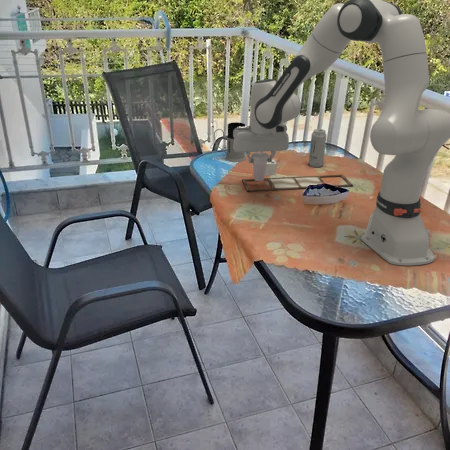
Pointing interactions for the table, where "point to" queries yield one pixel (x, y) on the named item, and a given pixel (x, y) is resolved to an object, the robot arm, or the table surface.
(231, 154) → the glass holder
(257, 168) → the smoothie
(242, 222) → the table surface
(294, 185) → the board
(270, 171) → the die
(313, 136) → the energy drink can
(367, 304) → the table surface
